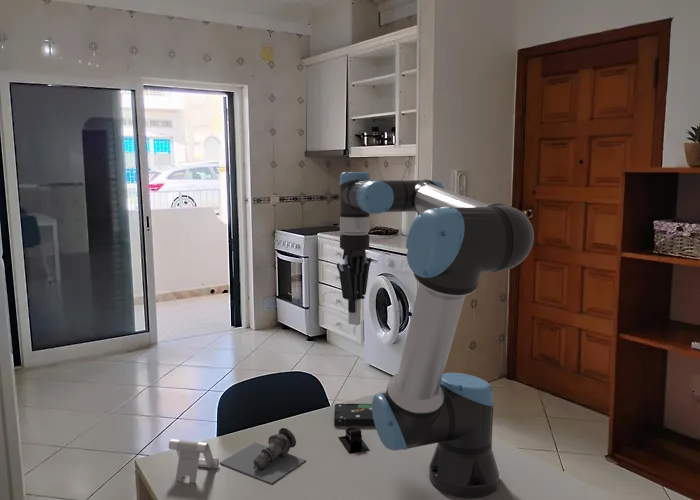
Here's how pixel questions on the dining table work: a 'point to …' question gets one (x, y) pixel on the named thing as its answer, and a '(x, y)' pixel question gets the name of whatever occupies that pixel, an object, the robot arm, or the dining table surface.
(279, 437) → the dark grey turned piece
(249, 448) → the mat
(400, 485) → the dining table surface
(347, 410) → the disk drive
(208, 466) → the portable electronic device stand
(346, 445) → the black boxy piece
